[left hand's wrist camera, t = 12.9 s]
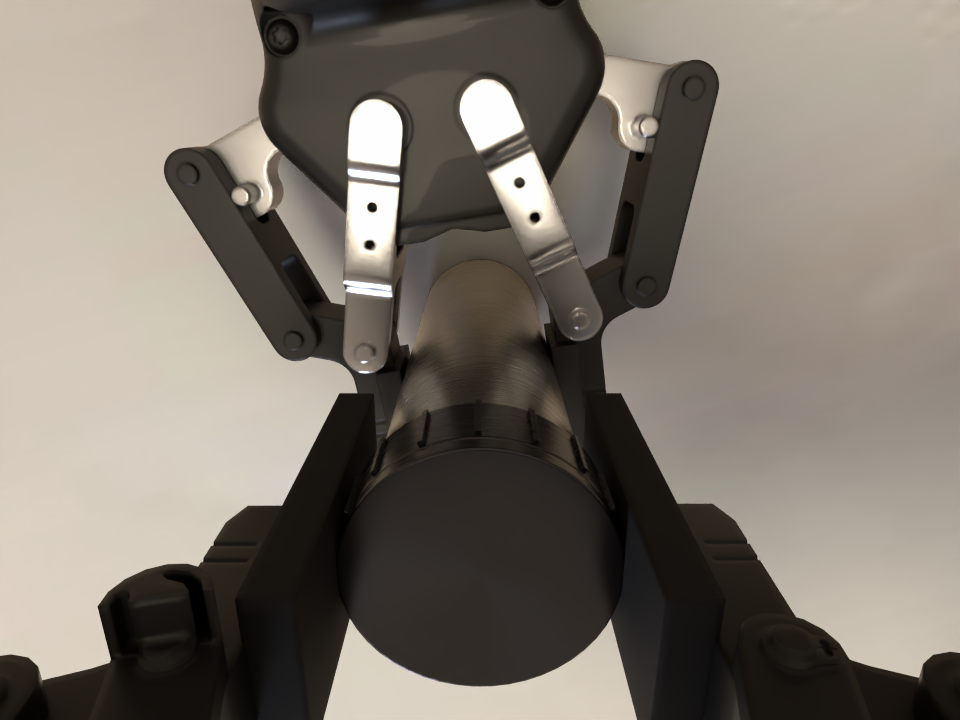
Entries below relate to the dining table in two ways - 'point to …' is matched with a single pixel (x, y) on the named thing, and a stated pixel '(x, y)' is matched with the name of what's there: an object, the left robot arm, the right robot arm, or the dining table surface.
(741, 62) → the dining table surface
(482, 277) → the grey metal cylinder
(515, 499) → the lid
